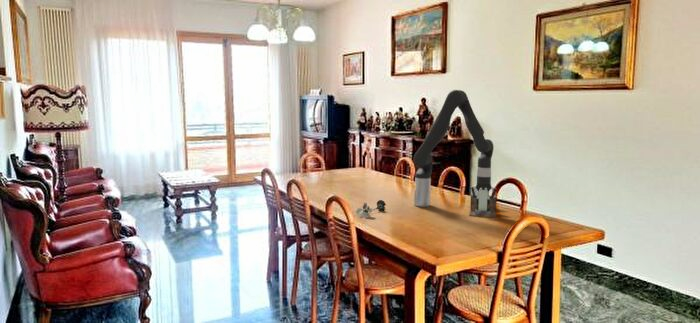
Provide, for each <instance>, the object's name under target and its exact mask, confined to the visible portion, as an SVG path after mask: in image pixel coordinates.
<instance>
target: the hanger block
mask: <svg viewBox="0 0 700 323" xmlns="http://www.w3.org/2000/svg"><path fill="white" fill-rule="evenodd" d="M487 192H488V190H480V189H479V207H478V211H487Z"/></svg>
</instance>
